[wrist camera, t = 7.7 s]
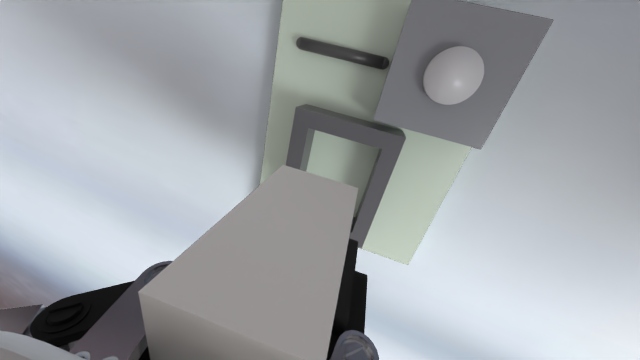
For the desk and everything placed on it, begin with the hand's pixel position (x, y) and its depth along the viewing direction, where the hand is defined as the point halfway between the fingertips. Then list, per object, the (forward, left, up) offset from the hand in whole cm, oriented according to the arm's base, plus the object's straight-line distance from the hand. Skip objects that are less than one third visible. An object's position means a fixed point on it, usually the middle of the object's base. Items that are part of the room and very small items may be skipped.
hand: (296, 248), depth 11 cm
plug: (0, 0, -2) cm, 2 cm away
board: (-1, -3, -12) cm, 12 cm away
